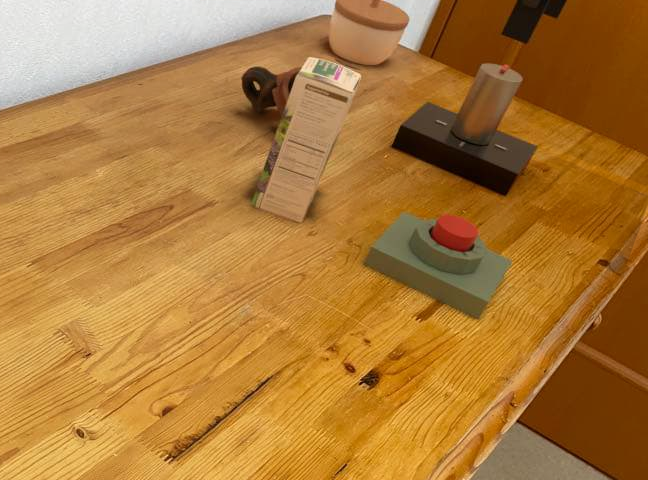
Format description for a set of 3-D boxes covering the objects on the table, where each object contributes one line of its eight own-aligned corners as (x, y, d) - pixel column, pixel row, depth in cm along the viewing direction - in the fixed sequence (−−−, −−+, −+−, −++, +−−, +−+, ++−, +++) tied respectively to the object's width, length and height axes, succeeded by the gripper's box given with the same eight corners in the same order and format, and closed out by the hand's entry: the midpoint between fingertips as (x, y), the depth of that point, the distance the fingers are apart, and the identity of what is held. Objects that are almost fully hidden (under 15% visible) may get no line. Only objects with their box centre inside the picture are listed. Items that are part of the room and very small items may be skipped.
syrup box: (261, 185, 93) (305, 53, 83) (313, 202, 92) (363, 71, 82) (249, 207, 89) (294, 71, 79) (303, 226, 88) (355, 90, 78)
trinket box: (387, 58, 130) (413, -5, 124) (389, 84, 122) (416, 17, 116) (319, 40, 131) (341, -24, 124) (316, 64, 123) (340, -3, 116)
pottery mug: (318, 120, 110) (353, 81, 102) (297, 176, 106) (331, 140, 99) (237, 74, 108) (267, 31, 100) (213, 130, 104) (242, 90, 97)
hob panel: (526, 167, 109) (538, 145, 107) (505, 196, 102) (518, 172, 100) (417, 122, 114) (427, 100, 112) (390, 147, 106) (401, 123, 104)
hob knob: (484, 149, 103) (519, 82, 98) (446, 133, 105) (477, 67, 99) (494, 137, 107) (528, 72, 101) (456, 121, 108) (487, 57, 102)
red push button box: (502, 278, 87) (522, 245, 85) (477, 320, 81) (497, 286, 78) (395, 228, 91) (410, 195, 88) (362, 265, 84) (378, 230, 82)
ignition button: (474, 242, 84) (483, 227, 83) (463, 257, 81) (472, 242, 80) (436, 225, 85) (444, 210, 84) (425, 240, 83) (432, 224, 81)
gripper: (633, -227, 85) (525, -7, 100) (583, -228, 69) (463, 36, 83) (710, -207, 83) (588, 16, 97) (677, -203, 66) (536, 64, 81)
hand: (530, 25), depth 90 cm, fingers open, 13 cm apart
